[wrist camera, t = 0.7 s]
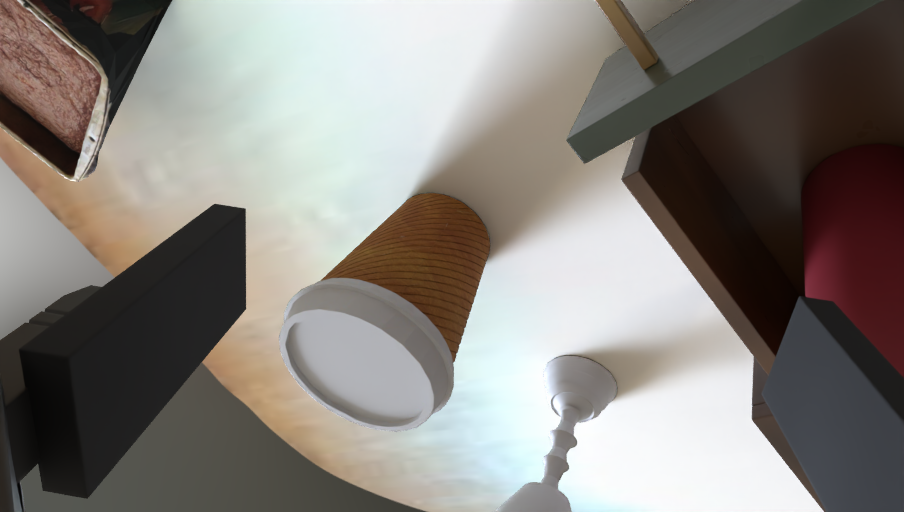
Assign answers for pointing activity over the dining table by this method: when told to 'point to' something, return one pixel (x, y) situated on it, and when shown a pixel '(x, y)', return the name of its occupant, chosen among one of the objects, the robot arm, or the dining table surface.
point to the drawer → (744, 133)
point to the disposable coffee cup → (390, 317)
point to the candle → (859, 241)
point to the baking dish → (69, 73)
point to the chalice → (564, 427)
